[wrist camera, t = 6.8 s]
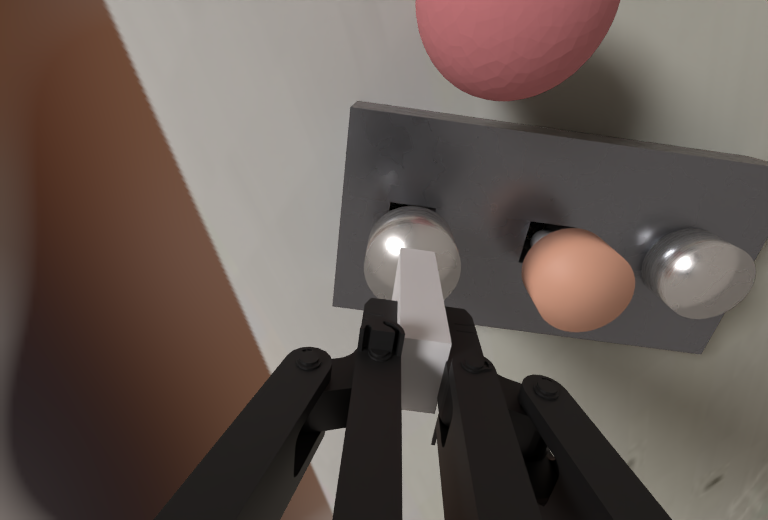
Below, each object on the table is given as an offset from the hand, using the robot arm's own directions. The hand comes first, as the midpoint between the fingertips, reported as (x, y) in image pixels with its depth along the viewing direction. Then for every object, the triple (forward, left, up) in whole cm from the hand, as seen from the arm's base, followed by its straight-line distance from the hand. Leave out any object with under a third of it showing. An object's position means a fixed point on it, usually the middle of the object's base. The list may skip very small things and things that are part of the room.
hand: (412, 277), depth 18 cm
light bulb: (-11, +2, -10) cm, 15 cm away
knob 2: (0, +8, -7) cm, 10 cm away
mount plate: (0, +8, -10) cm, 13 cm away
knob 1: (0, 0, -7) cm, 7 cm away
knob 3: (0, +16, -10) cm, 19 cm away
